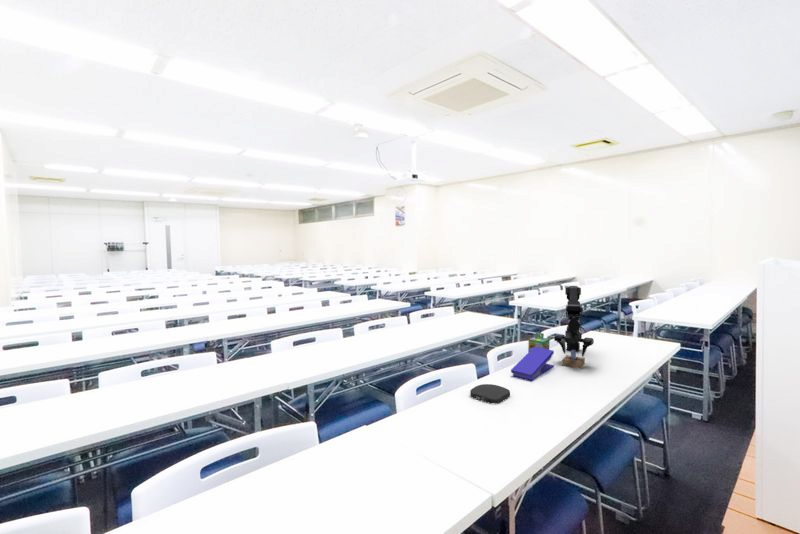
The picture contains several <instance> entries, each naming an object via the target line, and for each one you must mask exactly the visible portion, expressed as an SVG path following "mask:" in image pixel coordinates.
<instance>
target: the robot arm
mask: <svg viewBox="0 0 800 534" xmlns="http://www.w3.org/2000/svg"><path fill="white" fill-rule="evenodd" d="M564 290H565V296H566V300H567V302H566V303H567V305H565V317H566V318H567V326H566V330H565V334H561V333H557V334H556V335H554V339H553V341H555V342H556V343H557V344H560V345H559V346H560V347H561V349H562V353H563V355H565V354H566V351H567V350H568V352H569V351H570V352H571V350H576V353H578V352H579V351H580V350H581V349H580V348H581V343H582V351H581V356H582V358H584V356H585V354H586V351H587V348H588V347H591V346H593V345H594V343H595V342H594V341H595V340H594V338H593V337H584V338H582V336H583V335H582V332H581V331H580V330H581V323H580V320H581V318H582V317H583V316H584V308H583V306H582V305H581V302H580V301H579V300H580V296H581V294H582V287H580V286H577V285H570V286H569V285H568V286H567V287H565V289H564Z"/></svg>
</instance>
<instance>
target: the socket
mask: <svg viewBox="0 0 800 534" xmlns="http://www.w3.org/2000/svg"><path fill="white" fill-rule="evenodd" d="M585 360H586V359H585V357H580V356H576V360H573V359H571V355H568V354H567V355H566V356H565V357H563V358H562V365H561V366H562V367H566V368H567V367H568V368H573V369H579V370H580V369H582V368H583V367H584V366H585Z"/></svg>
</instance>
